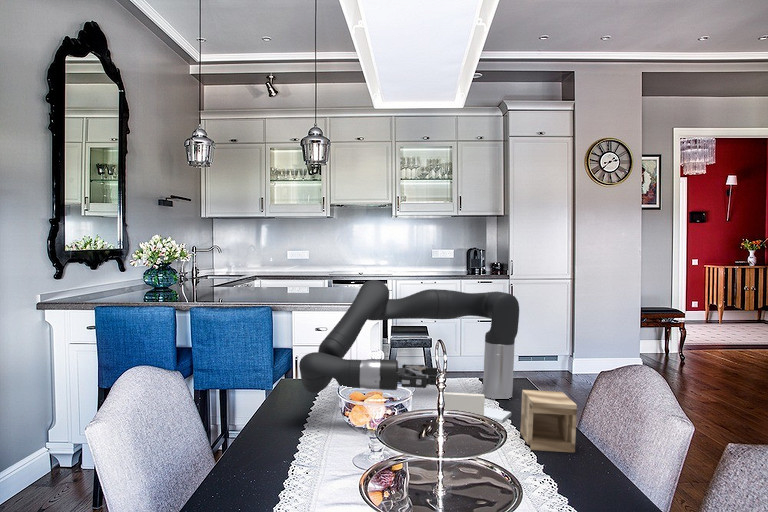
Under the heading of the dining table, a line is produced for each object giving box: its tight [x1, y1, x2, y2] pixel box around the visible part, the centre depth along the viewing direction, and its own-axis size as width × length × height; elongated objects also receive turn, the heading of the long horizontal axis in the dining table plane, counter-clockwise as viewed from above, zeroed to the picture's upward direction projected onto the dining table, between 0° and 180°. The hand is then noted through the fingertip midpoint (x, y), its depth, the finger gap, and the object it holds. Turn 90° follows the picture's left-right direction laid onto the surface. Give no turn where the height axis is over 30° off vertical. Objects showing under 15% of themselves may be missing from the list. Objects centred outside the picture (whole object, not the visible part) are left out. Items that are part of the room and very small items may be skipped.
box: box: [519, 389, 578, 453], centre depth 123 cm, size 11×10×11 cm
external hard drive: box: [484, 406, 512, 424], centre depth 142 cm, size 2×8×12 cm
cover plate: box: [443, 391, 486, 415], centre depth 128 cm, size 2×11×9 cm, turn 87°
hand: (443, 376), depth 127 cm, fingers open, 8 cm apart
